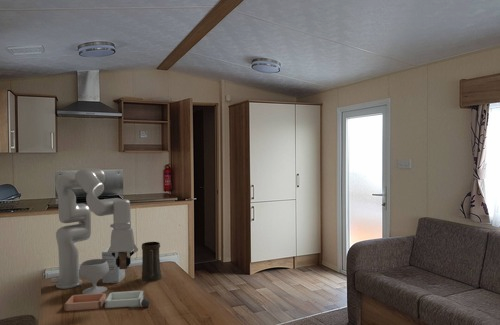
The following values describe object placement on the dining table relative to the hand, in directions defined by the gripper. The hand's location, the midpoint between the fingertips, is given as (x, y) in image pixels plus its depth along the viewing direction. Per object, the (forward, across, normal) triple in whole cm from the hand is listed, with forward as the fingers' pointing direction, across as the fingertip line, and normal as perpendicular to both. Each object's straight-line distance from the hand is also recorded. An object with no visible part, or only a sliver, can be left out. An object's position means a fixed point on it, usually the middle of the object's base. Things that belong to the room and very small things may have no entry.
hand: (123, 265), depth 178 cm
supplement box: (+18, -12, +36) cm, 42 cm away
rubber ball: (+16, +10, -6) cm, 20 cm away
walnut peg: (+1, 0, 0) cm, 1 cm away
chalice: (+18, -18, +19) cm, 32 cm away
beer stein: (+18, +9, +32) cm, 38 cm away
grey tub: (+17, 0, 0) cm, 17 cm away
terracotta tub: (+17, -17, 0) cm, 24 cm away
